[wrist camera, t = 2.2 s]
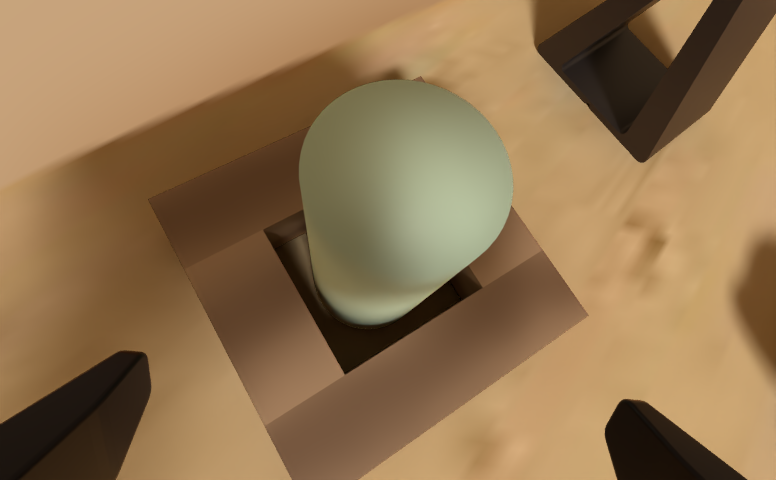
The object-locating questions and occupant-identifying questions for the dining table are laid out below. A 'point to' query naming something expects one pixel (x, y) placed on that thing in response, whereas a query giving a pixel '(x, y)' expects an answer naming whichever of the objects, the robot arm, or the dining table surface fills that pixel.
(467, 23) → the dining table surface
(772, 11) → the phone stand
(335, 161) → the peg
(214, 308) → the pocket block
